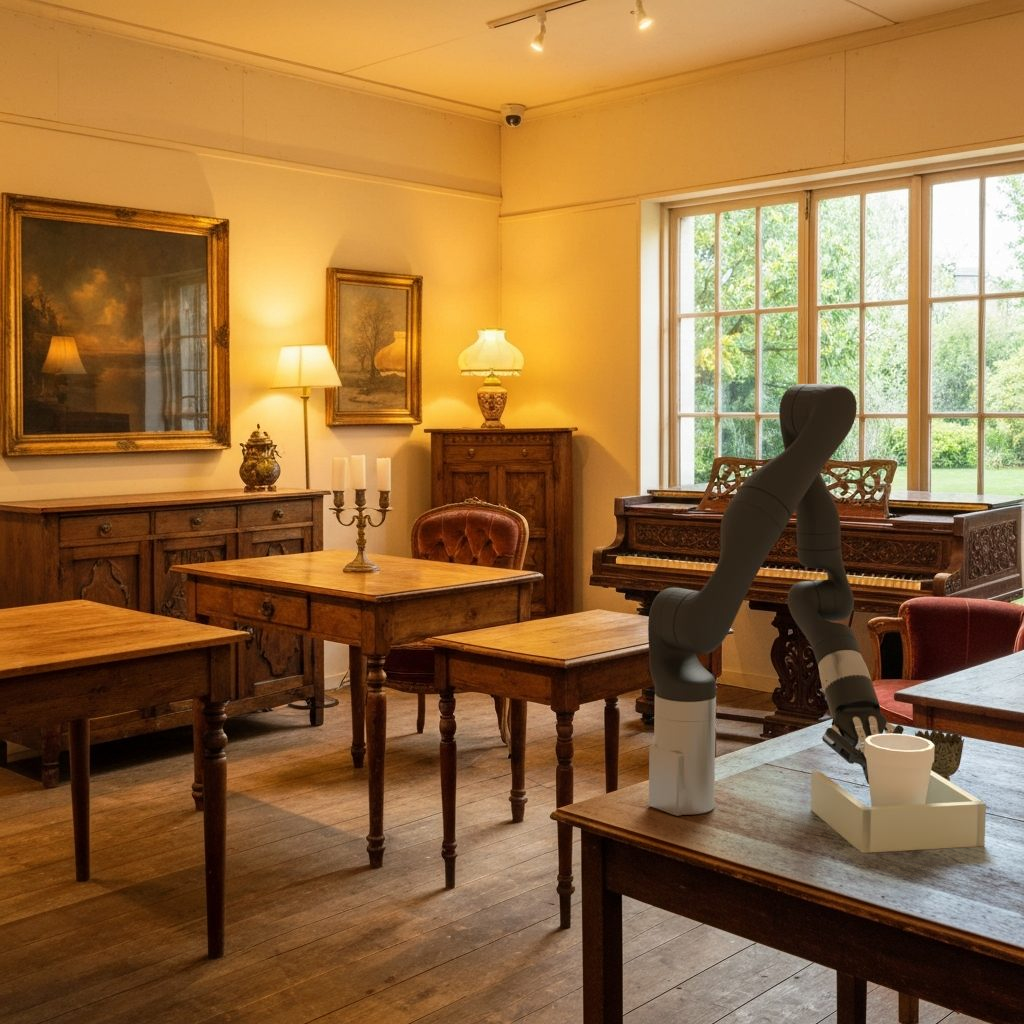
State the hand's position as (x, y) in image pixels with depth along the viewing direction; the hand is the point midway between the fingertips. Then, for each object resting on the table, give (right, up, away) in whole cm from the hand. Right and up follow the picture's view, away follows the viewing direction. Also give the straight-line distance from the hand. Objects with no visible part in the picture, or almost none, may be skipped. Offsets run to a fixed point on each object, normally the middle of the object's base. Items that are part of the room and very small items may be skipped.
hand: (879, 785), depth 182 cm
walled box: (+1, -5, -5) cm, 7 cm away
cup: (+14, -3, +16) cm, 21 cm away
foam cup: (+1, -5, -6) cm, 8 cm away
